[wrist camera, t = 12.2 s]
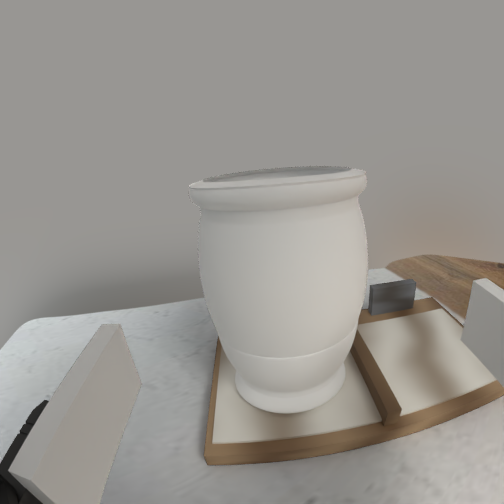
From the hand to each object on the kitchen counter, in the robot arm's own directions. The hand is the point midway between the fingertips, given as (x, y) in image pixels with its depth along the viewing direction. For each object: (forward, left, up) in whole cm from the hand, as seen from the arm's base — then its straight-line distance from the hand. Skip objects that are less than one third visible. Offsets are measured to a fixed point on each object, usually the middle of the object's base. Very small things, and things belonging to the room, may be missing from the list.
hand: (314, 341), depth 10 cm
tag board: (-6, -11, -12) cm, 17 cm away
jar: (0, -10, -10) cm, 14 cm away
